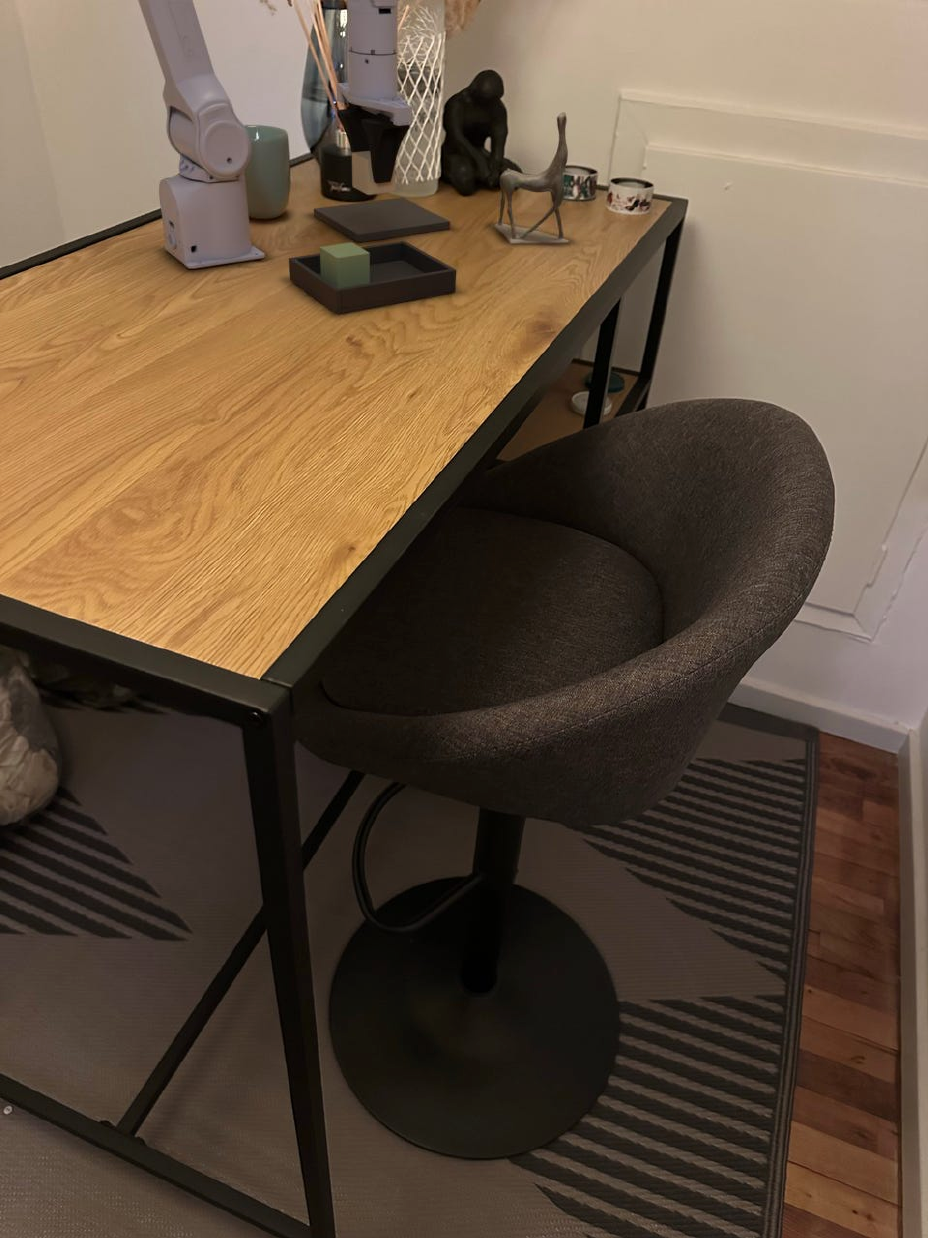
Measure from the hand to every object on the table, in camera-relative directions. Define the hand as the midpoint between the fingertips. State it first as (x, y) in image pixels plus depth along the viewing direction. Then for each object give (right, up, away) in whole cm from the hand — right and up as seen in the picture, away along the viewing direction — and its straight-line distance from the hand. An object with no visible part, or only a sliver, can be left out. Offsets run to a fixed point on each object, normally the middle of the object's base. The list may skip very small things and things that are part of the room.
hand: (373, 177), depth 114 cm
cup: (-15, -2, +7) cm, 17 cm away
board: (0, -2, +7) cm, 8 cm away
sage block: (-2, -18, -13) cm, 23 cm away
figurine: (+19, -5, +6) cm, 21 cm away
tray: (+1, -18, -11) cm, 21 cm away
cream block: (0, -1, +1) cm, 1 cm away
